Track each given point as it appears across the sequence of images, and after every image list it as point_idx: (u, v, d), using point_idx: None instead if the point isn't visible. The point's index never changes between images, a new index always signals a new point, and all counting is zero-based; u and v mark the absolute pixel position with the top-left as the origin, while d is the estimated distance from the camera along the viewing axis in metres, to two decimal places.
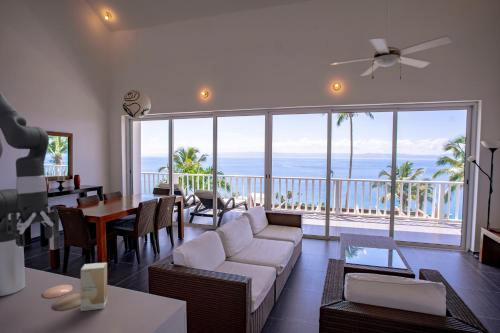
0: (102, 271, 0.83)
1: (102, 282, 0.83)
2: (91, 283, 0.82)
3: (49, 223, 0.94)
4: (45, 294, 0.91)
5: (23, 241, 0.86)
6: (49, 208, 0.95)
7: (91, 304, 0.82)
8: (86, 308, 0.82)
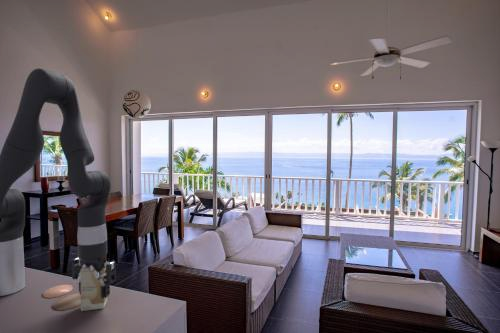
0: (102, 271, 0.83)
1: None
2: (91, 283, 0.82)
3: None
4: (45, 294, 0.91)
5: None
6: None
7: (91, 303, 0.82)
8: (86, 308, 0.82)
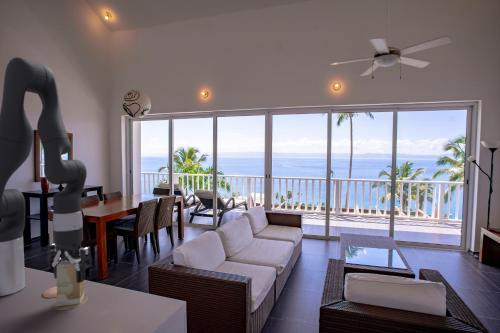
0: None
1: None
2: (67, 279, 0.84)
3: None
4: (45, 294, 0.91)
5: None
6: None
7: (67, 299, 0.85)
8: (62, 303, 0.84)
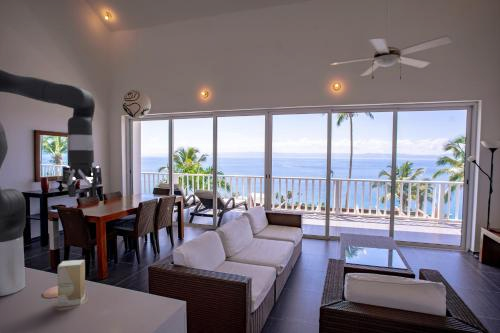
0: (79, 268, 0.85)
1: (79, 279, 0.85)
2: (68, 279, 0.84)
3: None
4: (45, 294, 0.91)
5: None
6: None
7: (68, 299, 0.85)
8: (63, 304, 0.84)
